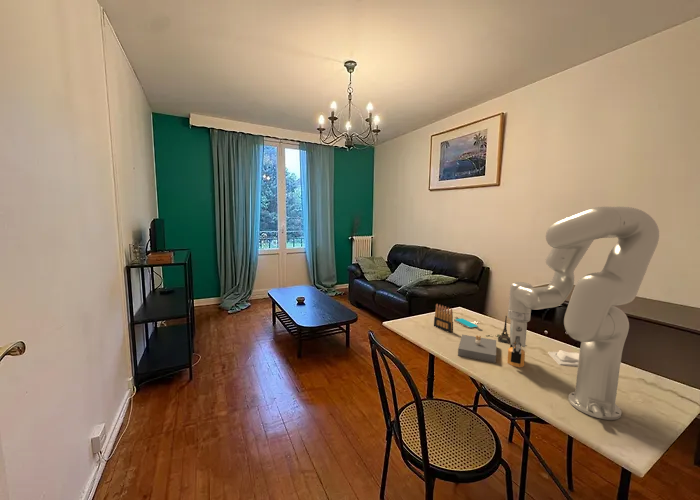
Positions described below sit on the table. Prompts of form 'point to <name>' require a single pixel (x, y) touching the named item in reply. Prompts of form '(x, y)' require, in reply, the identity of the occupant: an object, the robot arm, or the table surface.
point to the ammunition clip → (444, 318)
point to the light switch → (565, 358)
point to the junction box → (477, 348)
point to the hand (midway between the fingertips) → (514, 356)
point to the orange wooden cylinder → (513, 362)
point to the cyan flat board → (466, 323)
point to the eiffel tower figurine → (503, 335)
